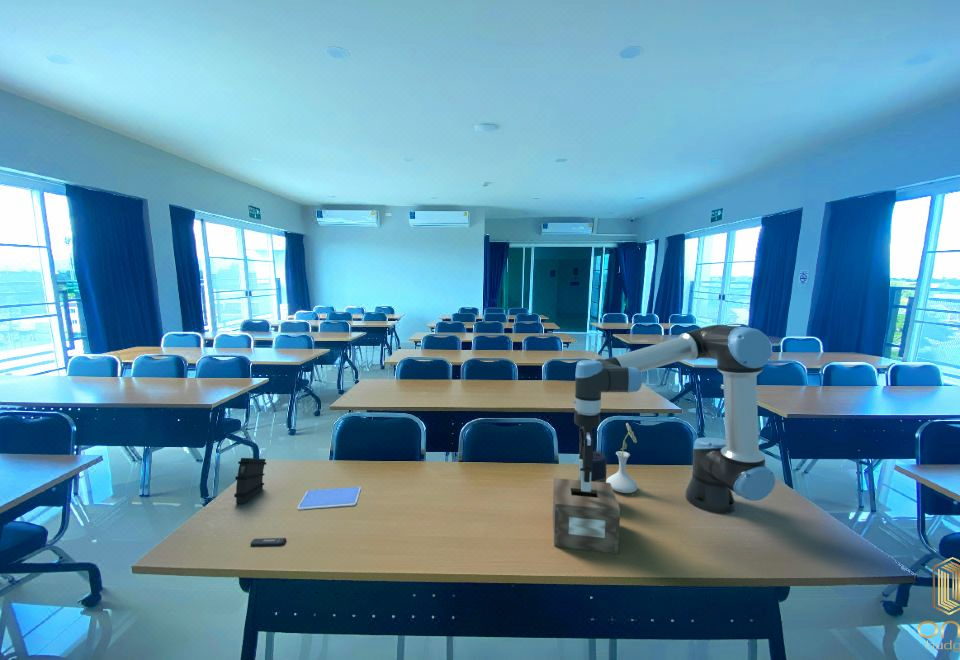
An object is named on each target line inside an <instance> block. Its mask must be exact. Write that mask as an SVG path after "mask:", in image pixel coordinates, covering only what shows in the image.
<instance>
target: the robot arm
mask: <svg viewBox="0 0 960 660" xmlns="http://www.w3.org/2000/svg"><path fill="white" fill-rule="evenodd" d="M772 354H773V347H772V343H771V341H770V339H769V338H768V336H767V335H766V334H765V333H764V332H763V331H761V330H759V329H757V328H754V327H753V328H752V327H749V326H739V325H726V324H725V325H724V324H712V325H707V326H704V327H700V328H696V329H693V330H689V331H686V332H683V333H681V334H679V336H678V337H677V338H674V339H673V338H672V339H669V340H667V341H662V342H659V343H655V344H651V345H650V346H646V347H642V348H639V349H636V350H632V351H628V352H626V353H622V354H619V355H615V356H612V357H607V358H604V359H603V358H593V359H582V360H579V361H578V362H577V363H576V368H575V377H574V379H575V381H574V382H575V385H574V387H575V388H574V389H575V391H574V392H575V393H574V394H575V395H574V399H573V400H572V403H573V404H574V410H575V411H574V413H573V415H574V417H573V423H574V424H575V425H576V426H577V427H579V430H578V432H579V445H578V446H579V449H578V450H579V451H578V454H579V457H580V462H579V461H578V480H581V491H585V492H591V472H593V451H594V442H595V433H594V428H598V427H599V426H600V425H601V409H602V408H601V405H602V393H635V392H638V391H640V389H642V385H643V376H642V372H646V371H650V370H653V369H657V368H660V367H664V366H666V365H670V364H673V363H677V362H680V361H684V360H689V361H694V360H698V359H711V360H712V359H713V360H716V366H717V371H718V372H719V373H721V374H722V376H723V380H722V381H723V382H722V383H723V403H724V404H723V405H724V423H725V424H724V425H725V426H724V428H725V429H724V430H725V439H722V438H717V437H699V438H696V440H695V441H694V443H693V449H692V450H693V451H692V456H693V457H692V471H691V473H692V475H691V478H690V481H689V483H688V485H687V487H686V490H685V499H686V501H688V502H689V503H690V504H691V505H693V506H695V507H696V508H698V509H701V510H704V511H706V512H710V513H716V514H730V513H733V512H734V511H735V509H736V501H735V498H734V495H733V494H734V493H735V495H737V496H740V497H742V499H745V500H747V501H754V502H756V501H759V500H763V499H764V498H765V499H766V497H768V496H769V494H771V493H772V492H773V490H774V488H775V485H776V476H775V473H774V472H773V471H772V470H771V469H770V468H769V467H767V466H766V455H765V454H764V453H763V452H762V451H761V450H760V447H759V446H760V445H759V417H758V414H759V413H758V411H759V410H758V384H757V382H758V381H757V378H758V377H757V376H758V375H759V374H761V373H762V372H763V367H764V366H765V365H766V364H768V362H769V360H770V359H771V357H772ZM579 457H578V458H579ZM733 492H734V493H733Z"/></svg>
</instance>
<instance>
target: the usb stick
mask: <svg viewBox="0 0 960 660" xmlns="http://www.w3.org/2000/svg"><path fill="white" fill-rule="evenodd" d="M286 543H287V538H286V537H269V538H268V537H267V538H265V537H264V538H263V537H262V538H253V539H252V541H251V542H250V547H270V546H271V547H276V546H277V547H278V546H279V547H280V546H283V545H285V544H286Z"/></svg>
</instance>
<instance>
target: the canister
mask: <svg viewBox="0 0 960 660" xmlns="http://www.w3.org/2000/svg"><path fill="white" fill-rule="evenodd" d="M578 459H579V460H578V463H579V462H580V457H578ZM606 480H607V457H606V455H604V454H603V453H601V452H598V451H595V450H593V472H591V481H594V482H605V483H606Z"/></svg>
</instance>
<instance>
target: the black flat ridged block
mask: <svg viewBox="0 0 960 660" xmlns="http://www.w3.org/2000/svg"><path fill="white" fill-rule="evenodd" d="M237 464H238V465H239V466H238V469H237V470H238V471H237V476H235V481H236V487H235V489H236V490H235V493H234V494H233V495H234V496H233V497H234V498H236V499H235V503H236V505H245V504H246V503H247V502H249V501H250V500H251V499H253V498H254V497H255V496H256V495H257V494H258V493H260V492H261V491H262V490H263V487H264V485H265V482H264V481H263V477H264V476H265V473H264V469H265V465H267V462H266V458H253V457H241V458H240V461H239V460H238V462H237Z"/></svg>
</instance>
